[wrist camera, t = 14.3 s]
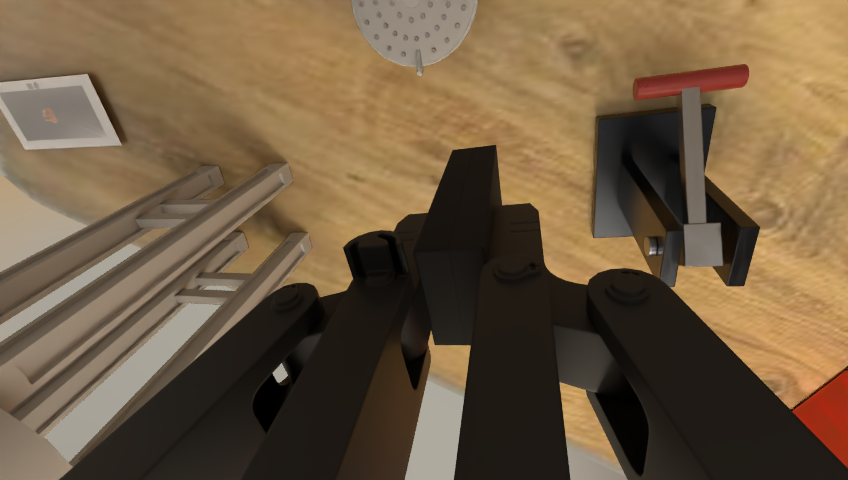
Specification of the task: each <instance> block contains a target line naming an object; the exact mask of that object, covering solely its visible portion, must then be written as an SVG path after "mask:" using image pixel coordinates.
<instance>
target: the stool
mask: <svg viewBox="0 0 848 480" xmlns="http://www.w3.org/2000/svg"><path fill="white" fill-rule="evenodd" d="M291 183H293V179H292V176H291V172H290V168H289V165H288V163H271V164H269V165H268V166H266V167H265V168H263V169H262V170H260V171H259V172H257V173H255V174H254V175H252V176H251V177H249V178H248V179H246V180H245V181H243V182H242V183H240V184H239V185H237V186H236V187H234V188H233V189H231V190H230V191H228V192H227V193H225V194H224V195H222V196H221V197H219V198H218V199H212V200H200V199H201V198H203V197H204V196H206V195H208V194H209V193H211V192H212V191H214V190H216V189H217V188H219V187H220V186H222V185H224V184H225V183H224V180H223V177H222V175H221V172H220V169H219V167H218V165H217V166H201V167H199V168H198V169H196V170H194V171H192V172H190V173H188V174H186V175H184V176H182V177H180V178H179V179H177V180H175V181H173V182H171V183H169V184H167V185H165V186H163V187H161V188H160V189H158V190H156V191H154V192H152V193H150V194H148V195H146V196H144V197H142V198H141V199H139V200H137V201H135V202H133V203H131V204H129V205H127V206H125V207H123V208H122V209H120V210H118V211H116V212H114V213H112V214H110V215H108V216H106V217H104V218H103V219H101V220H99V221H97V222H95V223H93V224H91V225H89V226H87V227H86V228H84V229H82V230H80V231H78V232H76V233H75V234H72V235H70V236H68V237H66V238H65V239H63V240H61V241H59V242H57V243H55V244H53V245H51V246H49V247H47V248H46V249H44V250H42V251H40V252H38V253H36V254H34V255H32V256H30V257H29V258H27V259H25V260H23V261H21V262H19V263H17V264H15V265H13V266H11V267H10V268H8V269H6V270H4V271H2V272H0V324H2V323H4V322H5V321H7V320H8V319H10V318H12V317H13V316H15V315H16V314H18V313H20V312H21V311H23V310H24V309H26V308H28V307H29V306H31V305H32V304H34V303H36V302H37V301H39V300H40V299H42V298H43V297H45V296H47V295H48V294H50V293H51V292H53V291H55V290H56V289H58V288H59V287H61V286H63V285H64V284H66V283H67V282H69V281H71V280H72V279H74V278H75V277H77V276H79V275H80V274H82V273H83V272H85V271H86V270H88V269H90V268H91V267H93V266H94V265H96V264H98V263H99V262H101V261H102V260H104V259H105V258H107V257H109V256H110V255H112V254H114V253H115V252H117V251H118V250H120V249H122V248H123V247H125V246H126V245H128V244H130V243H131V242H133V241H134V240H136V239H138V238H139V237H141V236H142V235H144V234H146V233H147V232H149V231H150V230H152V229H153V228H172V229H171V230H169V231H168V232H166V233H165V234H163V235H162V236H160V237H159V238H157V239H156V240H154V241H153V242H151V243H150V244H148V245H147V246H145V247H144V248H142V249H141V250H139V251H138V252H136V253H135V254H133V255H132V256H130V257H129V258H127V259H126V260H124V261H123V262H121V263H120V264H118V265H117V266H115V267H114V268H112V269H110V270H109V271H107V272H106V273H104V274H103V275H101V276H100V277H98V278H97V279H95V280H94V281H92V282H91V283H89V284H88V285H86V286H85V287H83V288H82V289H80V290H79V291H77V292H76V293H74V294H73V295H71V296H70V297H68V298H67V299H65V300H64V301H62V302H61V303H59V304H58V305H56V306H55V307H53V308H52V309H50V310H49V311H47V312H46V313H44V314H43V315H41V316H39V317H38V318H36V319H35V320H33V321H32V322H30V323H29V324H27V325H26V326H24V327H23V328H21V329H20V330H18V331H17V332H15V333H14V334H12V335H11V336H9V337H8V338H6V339H5V340H3V341H2V342H0V480H59V479H60V478H61V477H62V476H64V475H65V474H66V473H67V472H68V471H69V470H70V469H71V468H73V467H74V466H75V465H76V464H77V463H78V462H79V461H81V460H82V459H83V458H84V457H85V456H86V455H87V454H89V453H90V452H91V451H92V450H93V449H94V448H95V447H96V446H98V445H99V444H100V443H101V442H102V441H103V440H104V439H106V438H107V437H108V436H109V435H110V434H111V433H112V432H114V431H115V430H116V429H117V428H118V427H119V426H120V425H121V424H123V423H124V422H125V421H126V420H127V419H128V418H129V417H131V416H132V415H133V414H134V413H135V412H136V411H137V410H139V409H140V408H141V407H142V406H143V405H144V404H145V403H146V402H148V401H149V400H150V399H151V398H152V397H153V396H154V395H156V394H157V393H158V392H159V391H160V390H161V389H162V388H164V387H165V386H166V385H167V384H168V383H169V382H170V381H171V380H173V379H174V378H175V377H176V376H177V375H178V374H179V373H181V372H182V371H183V370H184V369H185V368H186V367H187V366H189V365H190V364H191V363H192V362H193V361H194V360H195V359H196V358H198V357H199V356H200V355H201V354H202V353H203V352H204V351H206V350H207V349H208V348H209V347H210V346H211V345H212V344H213V343H215V342H216V341H217V340H218V339H219V338H220V337H221V336H223V335H224V334H225V333H226V332H227V331H228V330H229V329H231V328H232V327H233V326H234V325H235V324H236V323H237V322H238V321H240V320H241V319H242V318H243V317H244V316H245V315H246V314H248V313H249V312H250V311H251V310H252V309H253V308H254V307H256V306H257V305H258V304H259V303H260V302H261V301H262V300H263V299H265V298H266V297H267V296H269V295H270V294H271V293H273V292H274V291H276V290H278V289H279V288H280V287H281V286H282V285H283V283H284V282H285V281H286V280H287V279H288V277H289V276H290V275H291V274H292V272H293V271H294V270H295V269H296V268H297V266H298V265H299V264H300V263H301V262H302V260H303V259H304V258H305V257H306V256H307V254H308V253H309V252H310V251H311V249H312V246H311V242H310V239H309V235H308V233H291V234H290V235H289V236H288V237H287V238H286V239H285V240H284V241H283V242H282V243H281V244H280V245H279V246H278V247H277V249H276V250H275V251H274V252H273V253H272V254H271V255H270V256H269V257H268V258H267V259H266V260H265V261H264V262H263V263H262V264H261V265H260V266H259V267H258V268H257V269H256V270H255V271H254V272H253V273H252V274H242V273H222V272H223V271H224V270H225V269H226V268H227V267H228V266H229V265H231V264H232V263H233V262H234V261H235V260H236V259H237V258H238V257H239V256H240V255H241V254H242V253H244V252H245V251H246V250H247V249H248V248H249V246H248V244H247V241H246V238H245V236H244V233H243V232H232V231H233V230H235V229H236V228H237V227H238V226H240V225H241V224H242V223H243V222H245V221H246V220H247V219H248V218H249V217H251V216H252V215H253V214H254V213H256V212H257V211H258V210H259V209H261V208H262V207H263V206H264V205H265V204H267V203H268V202H269V201H270V200H272V199H273V198H274V197H275V196H277V195H278V194H279V193H280V192H282V191H283V190H284V189H285V188H286V187H288V186H289V185H290V184H291ZM179 213H187V214H179ZM207 286H232V287H239V288H238V289H237V290H236V291H222V290H203V289H204V288H206V287H207ZM188 303H195V304H213V305H221V306H220V307H219V308H218V309H217V310H216V312H215V313H213V315H212V316H211V317H210V318H209V319H208V320H207V321H206V322H205V323H204V324H203V325H202V326H201V327H200V328H199V329H198V330H197V331H196V332H195V333H194V334H193V335H192V336H191V337H190V338H189V339H188V341H186V343H184V345H182V347H181V348H180V349H179V350H178V351H177V352H176V353H175V354H174V355H173V356H172V357H171V358H170V359H169V360H168V361H167V362H166V363H165V364H164V365H163V366H162V367H161V368H160V369H159V370H158V371H157V372H156V374H154V375H153V376H152V378H150V380H149V381H148V382H147V383H146V384H145V385H144V386H143V387H142V388H141V389H140V390H139V391H138V392H137V393H136V394H135V395H134V396H133V397H132V398H131V399H130V400H129V401H128V402H127V403H126V404H125V405H124V406H123V407H122V408H121V409H120V410H119V412H118V413H117V414H116V415H115V416H114V417H113V418H112V419H111V420H110V421H109V422H108V423H107V424H106V425H105V426H104V427H103V428H102V429H101V430H100V431H99V432H98V433H97V434H96V435H95V436H94V437H93V438H92V439H91V440H90V441H89V442H88V443H87V445H86V446H85V447H84V448H83V449H82V450H81V451H80V452H79V453H78V454H77V455H76V456H75V457H74V458H73V459H72V460H71V461H70V462H68V461H66V459H65V458H64V457H63V456H62V455H61V454H60V453H59V452H58V451H57V450H56V448H55V447H54V446H53V445H52V444H51V443H50V442H49V441H48V440H47V439H45V438H44V436H45V435H46V434H47V433H48V432H49V431H51V430H52V429H53V428H54V427H55V426H56V425H57V424H58V423H59V422H60V421H61V420H62V419H64V418H65V417H66V416H67V415H68V414H69V413H70V412H71V411H72V410H73V409H74V408H75V407H76V406H78V405H79V404H80V403H81V402H82V401H83V400H84V399H85V398H86V397H87V396H88V395H90V394H91V393H92V392H93V391H94V390H95V389H96V388H97V387H98V386H99V385H100V384H101V383H103V382H104V381H105V380H106V379H107V378H108V377H109V376H110V375H111V374H112V373H113V372H114V371H116V370H117V369H118V368H119V367H120V366H121V365H122V364H123V363H124V362H125V361H126V360H128V359H129V358H130V357H131V356H132V355H133V354H134V353H135V352H136V351H137V350H138V349H139V348H140V347H142V346H143V345H144V344H145V343H146V342H147V341H148V340H149V339H150V338H151V337H152V336H154V335H155V334H156V333H157V332H158V331H159V330H160V329H161V328H162V327H163V326H164V325H165V324H167V322H169V321H170V320H171V319H172V318H173V317H174V316H175V315H176V314H177V313H178V312H179V311H181V310H182V309H183V308H184V307H185V306H186V305H187V304H188Z"/></svg>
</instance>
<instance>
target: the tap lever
mask: <svg viewBox="0 0 848 480" xmlns="http://www.w3.org/2000/svg"><path fill="white" fill-rule="evenodd" d="M748 77H749V68H748V66H747V65H746V64H741V65H734V66H726V67H719V68H711V69H704V70H696V71H689V72H681V73H674V74H666V75H658V76H651V77H643V78H636V79H635V80H634V83H633V98H634V100H642V99H650V98H658V97H667V96H675V95H677V112H678V133H679V153H680V174H681V194H682V215H683V224H682V225H681V227H682V228H683V230H684V235H683V240H682V246H681V252H680V258H679V264H678V266H683V267H706V266H723V248H722V228H721V223H707V217H706V197H705V177H704V156H703V136H702V116H701V96H700V92H708V91H717V90H725V89H733V88H741V87H744V86H745V85H746V83H747V81H748Z"/></svg>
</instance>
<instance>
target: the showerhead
mask: <svg viewBox="0 0 848 480" xmlns="http://www.w3.org/2000/svg"><path fill="white" fill-rule="evenodd" d="M351 2H352V8H353V12H354V16H355V19H356V22H357V24H358V27H359V29H360V31H361V33H362V34H363V36H364V37H365V39H366V40H367V42H368V43H369V44H370V45H371V46H372V48H373V49H374V50H375V51H377V52H378V53H379V54H380V55H381V56H383V57H384V58H386V59H387V60H389V61H391V62H393V63H396V64H399V65H402V66H408V67H417V74H418V76H423V66H428V65H431V64H434V63H437V62H439V61H441V60H443V59H444V58H446V57H447V56H449V55H450V54H451V53H452V52H453V51H454V50H455V49H456V48H457V47H458V46H459V45H460V44H461V43H462V41H463V40H464V39H465V37H466V35H467V34H468V32H469V30H470V29H471V26H472V24H473V22H474V19H475V16H476V12H477V6H478V0H351Z"/></svg>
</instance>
